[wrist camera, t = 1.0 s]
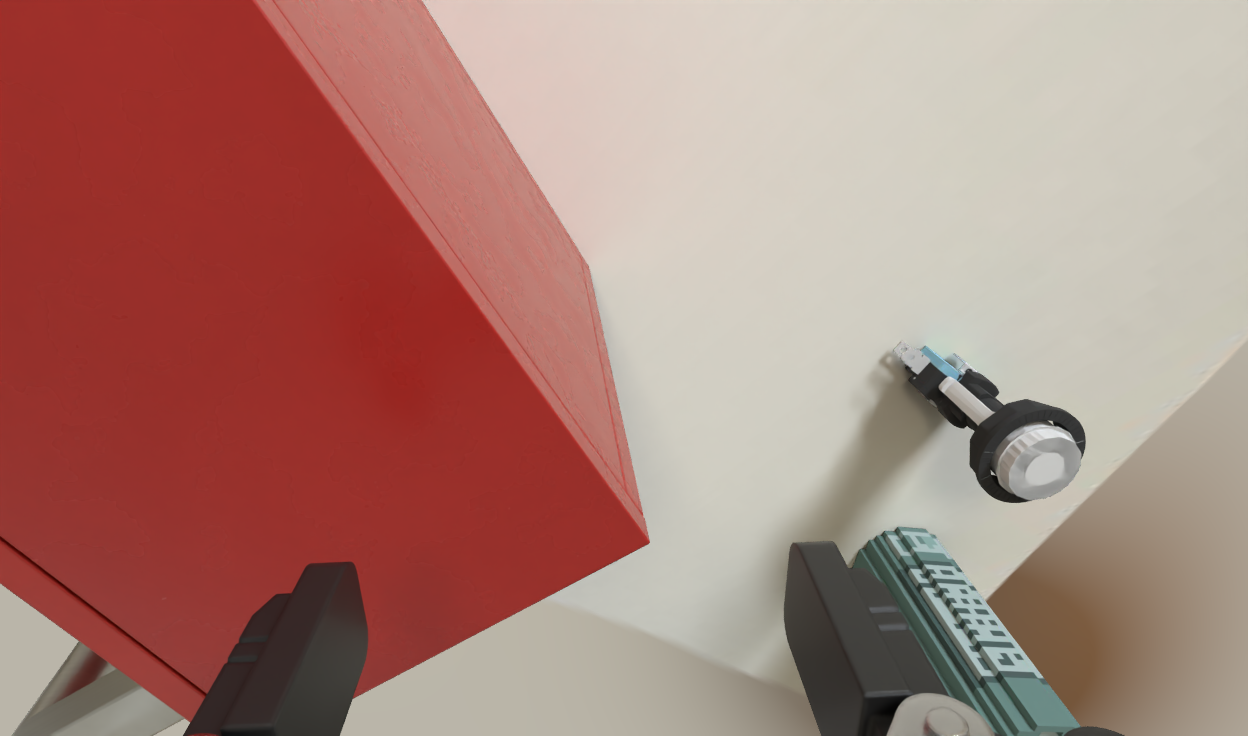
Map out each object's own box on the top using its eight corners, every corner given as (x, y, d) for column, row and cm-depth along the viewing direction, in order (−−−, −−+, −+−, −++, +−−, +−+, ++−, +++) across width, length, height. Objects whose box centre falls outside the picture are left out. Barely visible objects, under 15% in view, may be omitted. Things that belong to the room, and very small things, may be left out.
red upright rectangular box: (399, 379, 40) (269, 743, 20) (140, 69, 32) (-484, 168, 12) (589, 267, 38) (650, 543, 18) (367, -88, 30) (64, -261, 11)
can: (841, 595, 50) (953, 807, 37) (869, 524, 48) (999, 724, 35) (921, 600, 52) (1058, 808, 38) (952, 531, 49) (1110, 727, 36)
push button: (862, 375, 43) (949, 471, 34) (927, 304, 41) (1036, 386, 32) (936, 428, 45) (1036, 531, 36) (1000, 362, 44) (1121, 454, 35)
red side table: (286, 446, 41) (62, 848, 21) (7, 160, 33) (-749, 382, 13) (395, 382, 40) (264, 742, 20) (134, 72, 32) (-483, 174, 12)
